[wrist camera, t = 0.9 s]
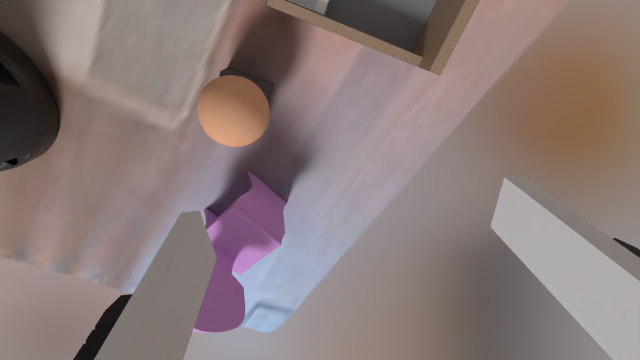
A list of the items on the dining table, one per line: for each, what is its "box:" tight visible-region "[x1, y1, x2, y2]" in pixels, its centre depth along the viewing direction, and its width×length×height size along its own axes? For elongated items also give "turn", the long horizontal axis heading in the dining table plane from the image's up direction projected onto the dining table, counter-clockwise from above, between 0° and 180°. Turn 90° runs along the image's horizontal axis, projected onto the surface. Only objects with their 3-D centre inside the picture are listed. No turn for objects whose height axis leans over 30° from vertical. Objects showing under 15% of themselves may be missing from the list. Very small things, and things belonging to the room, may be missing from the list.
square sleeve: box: [220, 68, 273, 102], centre depth 28 cm, size 5×5×2 cm
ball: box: [197, 75, 270, 147], centre depth 24 cm, size 6×6×6 cm
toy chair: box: [193, 171, 287, 333], centre depth 29 cm, size 8×9×15 cm
